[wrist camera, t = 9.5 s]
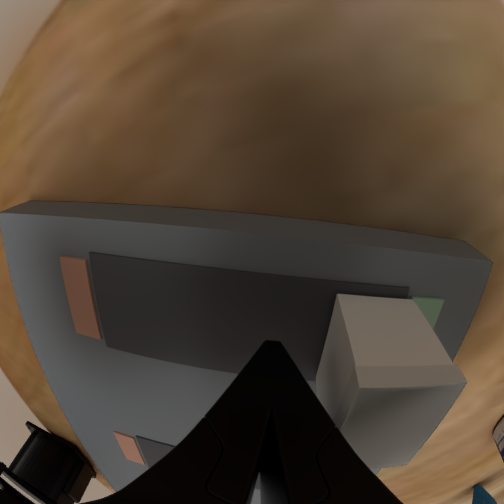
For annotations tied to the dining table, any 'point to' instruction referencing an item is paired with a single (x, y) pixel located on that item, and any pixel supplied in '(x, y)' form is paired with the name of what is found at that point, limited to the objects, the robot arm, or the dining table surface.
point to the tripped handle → (385, 378)
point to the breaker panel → (201, 307)
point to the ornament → (482, 496)
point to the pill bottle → (500, 437)
